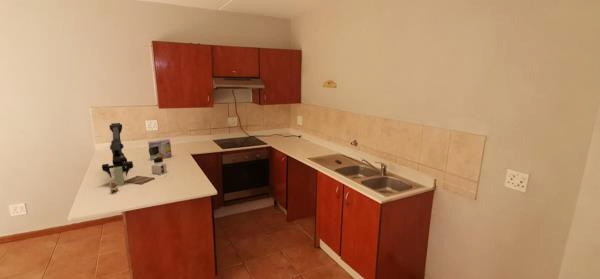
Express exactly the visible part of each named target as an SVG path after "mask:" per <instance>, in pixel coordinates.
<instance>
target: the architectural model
mask: <svg viewBox="0 0 600 279" xmlns="http://www.w3.org/2000/svg"><path fill="white" fill-rule="evenodd" d="M108 184H109V190H110V194H112V193H113V192H116V191H118V190H119V187H121V186H120V185H119V186H117V184H116V183H115V179H114V180H112V181H110V182H109V183H108Z"/></svg>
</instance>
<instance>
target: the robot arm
mask: <svg viewBox="0 0 600 279" xmlns="http://www.w3.org/2000/svg"><path fill="white" fill-rule="evenodd" d="M109 131H111V132H112V140H111V144H110V145H109V149H110V150H111V154H112V164H111V165H110V164H109V163H104V164H102V165H101V169H102V171H103V172H105V173H107V174H108V176H109V177H110V178H112V174H111V169H113V168H114V167H117V166H122V171H123V173H124V172H125V176H126V177H127V176H128V173H129V171H130V170H132V169H133V168H134V164H133V160H129V161H128V159H127V157H126V156H125V154H124V152H123V149H124V144H123V143H122V140H121V133H122V131H123V124H121V123H120V122H114V123H113V122H112V123H111V124H109Z"/></svg>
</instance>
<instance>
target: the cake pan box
mask: <svg viewBox="0 0 600 279" xmlns="http://www.w3.org/2000/svg"><path fill="white" fill-rule="evenodd" d="M147 144H148V153H149V158H150V161H154V158H155V157H162V158H163V159H167V158H172V157H173V155H172V154H173V153H172V145H171V144H172V143H171V139H170V138H163V139H157V140H150V141H148V143H147Z"/></svg>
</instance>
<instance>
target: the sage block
mask: <svg viewBox="0 0 600 279" xmlns="http://www.w3.org/2000/svg"><path fill="white" fill-rule="evenodd" d="M112 169H113V176H114V182H115V183H116V184H117V186H119V185H120V186H119V187H121V186H125V182H124V181H125V180H124V172H123V171H122V166H117V167H114V168H112Z"/></svg>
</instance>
